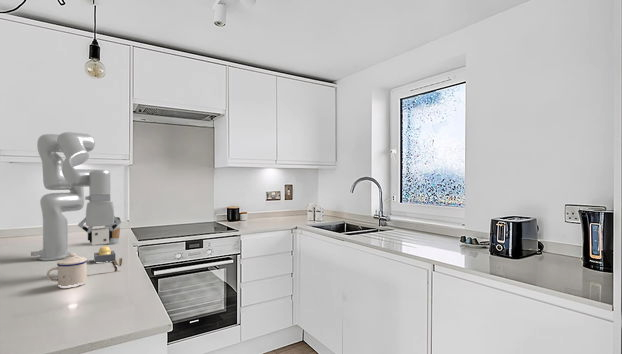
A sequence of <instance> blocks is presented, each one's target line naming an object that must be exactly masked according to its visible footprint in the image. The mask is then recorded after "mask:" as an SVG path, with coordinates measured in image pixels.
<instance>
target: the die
mask: <svg viewBox="0 0 622 354" xmlns="http://www.w3.org/2000/svg"><path fill="white" fill-rule="evenodd" d="M91 232H92V242H91V246H95V245H104V244H106V245H108V244H107V243H109V228H108V227H106V228H105V227H95V228H94V227H93V228H92V230H91Z"/></svg>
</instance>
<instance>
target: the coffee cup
mask: <svg viewBox="0 0 622 354" xmlns="http://www.w3.org/2000/svg"><path fill="white" fill-rule="evenodd" d="M115 217H116V216H115ZM116 218H117V219H119V220H120V221H121V218H120V217H118V216H117V217H116ZM115 223H116V221H115V220H114V224H115ZM114 224H112V225H111V226H113V225H114ZM106 227H108V226H107V225H105V226H104V228H106ZM120 233H121V223H120V224H119V225H118V226H117V227H116V228H115V229H114V230H113V231H112V238H110V241H109V243H107V244H106V245H117V244H119V242H120Z"/></svg>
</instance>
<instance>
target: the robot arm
mask: <svg viewBox="0 0 622 354" xmlns="http://www.w3.org/2000/svg"><path fill="white" fill-rule="evenodd" d="M36 142H37V143H36V144H37V145H36V146H37V147H36V149H37V151H38V155H39V157H40V159H41V160H40V161H41V164H42V182H43V186H44V189H46V190H49V191H69V192H49V193H46V194H44V195H42V196H41V198H40V202H39V203H40V204H39V205H40V208H41V213H42V249H40V250H38V251H30V256H31V257H32V256H33V257H36V256H38V260H39V261H45V262H47V261H59V260H63V259H65V258H66V257H69V254H71V253H72V252H68V241H69V239H68V235H69V234H68V232H69V231H68V228H69V227H68V226H69V225H68V219H67V217H66V216H65V215H64V214H63V213H66V212H77V211H80V210H82V209H83V208H84V206H85V200H86V201H89V202H87V203H86V209H85V217H84V218H83V219H82V220H81V221H80V222H78V224H77V226H78V227H79V228H80V229H82V230H83V231H85V232H86V234H87V241H89V243H91V242H92V232H91V230H92V229H93V228H94V227H105V225H107V226H108V228H109V241H110V238H112V231H113V230H114V229H115V228H116V227H117V226H118V225H119V224H120V225H121V223H122V222H121V219H120V220H119V219H117V218H116V216H115V210H114V208H115V207H114V203H113V201H111V172H110V171H109V170H108V169H92V168H91V169H87V168H80V169H79V168H74V167H78V166H79V165H83V164H84V163H86V162H87V161H88V159H89V157H90V152H91V151H93V150H94V148H95V145H96V142H95V140H94V137H93V136H92V135H90V134H88V133H80V132H79V133H78V132H71V131H70V132H69V131H67V132H62V133H60V134H57V133H56V134H54V133H53V134H52V133H45V134H42V135H40V136H39V137H38V139H37V141H36ZM58 153H63V155H64V157H65V158H64V159H63V158H62V157H61V156H60V154H58ZM86 187H89V189H88V190H89V191H88V192H89V194H88V195H87V196H85V195H84V193H85V192H84V191H85V190H84V188H86ZM114 220H115V221H116V223H115V224H114ZM84 224H85V225H84ZM112 224H114V225H113V226H111V225H112ZM91 244H92V243H91Z"/></svg>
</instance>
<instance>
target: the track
mask: <svg viewBox="0 0 622 354" xmlns="http://www.w3.org/2000/svg"><path fill="white" fill-rule="evenodd" d="M113 262H114V263H113ZM113 262H112V263H113V265H114V264H115V265H118V266H119V264H122V265H123V258H122V257H120V258H119V259H118V261H117V260H116V259H115V261H113ZM115 265H114V266H115Z"/></svg>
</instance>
